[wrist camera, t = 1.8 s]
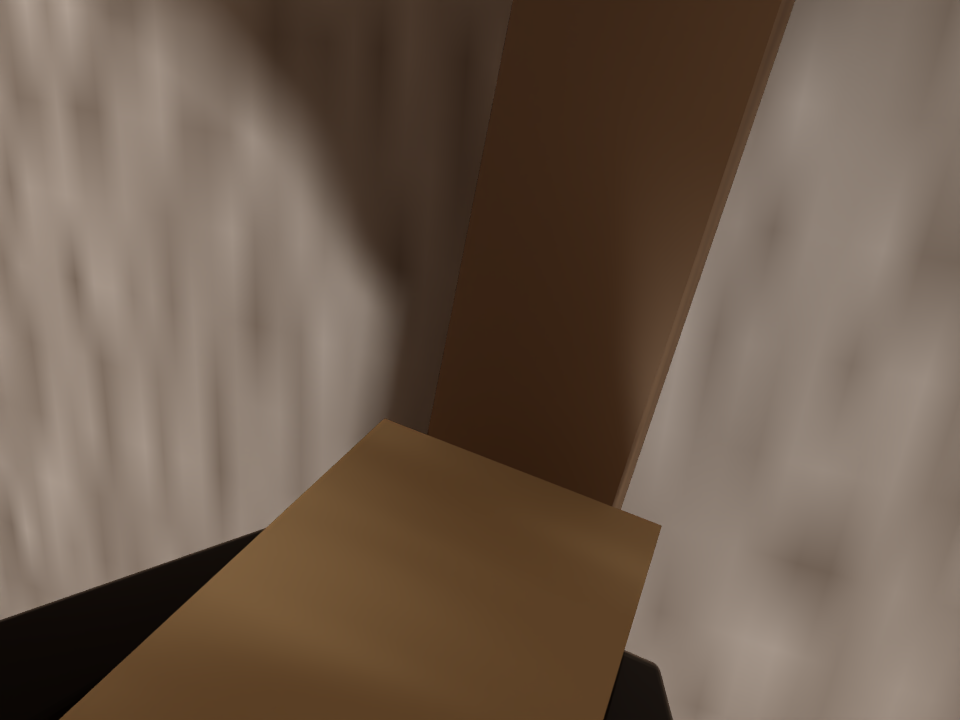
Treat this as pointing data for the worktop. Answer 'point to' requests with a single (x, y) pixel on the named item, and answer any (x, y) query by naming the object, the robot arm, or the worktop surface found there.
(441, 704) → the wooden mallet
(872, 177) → the worktop surface
